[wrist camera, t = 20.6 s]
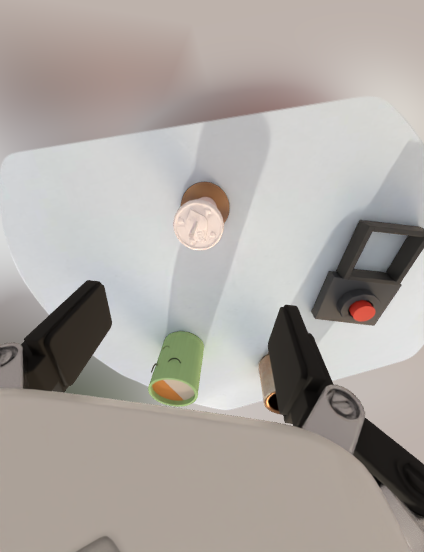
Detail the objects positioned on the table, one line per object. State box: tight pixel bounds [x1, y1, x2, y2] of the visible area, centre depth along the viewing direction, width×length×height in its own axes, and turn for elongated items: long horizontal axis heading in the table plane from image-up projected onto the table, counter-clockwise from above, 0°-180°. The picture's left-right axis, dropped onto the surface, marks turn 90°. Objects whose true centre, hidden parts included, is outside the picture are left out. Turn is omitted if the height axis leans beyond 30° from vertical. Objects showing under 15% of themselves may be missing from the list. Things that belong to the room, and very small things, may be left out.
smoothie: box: [173, 197, 224, 250], centre depth 29 cm, size 6×6×14 cm
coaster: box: [181, 182, 229, 223], centre depth 35 cm, size 8×8×1 cm
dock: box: [336, 220, 424, 285], centre depth 36 cm, size 10×10×3 cm
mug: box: [148, 331, 204, 406], centre depth 48 cm, size 13×10×12 cm
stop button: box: [349, 300, 376, 321], centre depth 38 cm, size 4×4×2 cm
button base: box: [311, 271, 401, 326], centre depth 40 cm, size 10×12×4 cm
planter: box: [259, 355, 280, 414], centre depth 50 cm, size 11×11×10 cm
